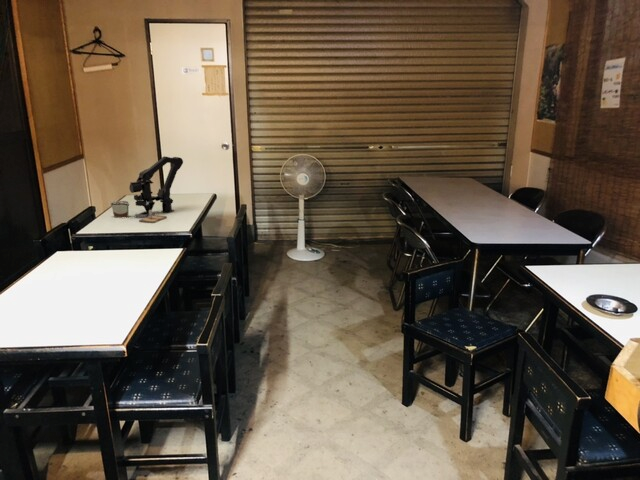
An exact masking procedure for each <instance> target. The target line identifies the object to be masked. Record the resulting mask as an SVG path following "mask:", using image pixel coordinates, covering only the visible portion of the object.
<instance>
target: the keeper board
mask: <svg viewBox="0 0 640 480" xmlns="http://www.w3.org/2000/svg"><path fill="white" fill-rule="evenodd" d="M152 212H153V210H152V211H151V210H149V217H146V218H140V219H139V220H138V222H139V223H147V224H149V223H150V224H155V223H157V222H158V223H159V222H160V221H163V220H165V219H167V216H166V215H156V214H155V215H152Z"/></svg>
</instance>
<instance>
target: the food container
mask: <svg viewBox="0 0 640 480" xmlns="http://www.w3.org/2000/svg"><path fill="white" fill-rule="evenodd" d="M110 206H111V209H112V214H113V217H114V218H122V217H124V218H125V217H126V218H127V217H128V218H129V216H130V215H129V206H130V203H129V201H126V200H118V201H117V200H115V201H113V202H110Z"/></svg>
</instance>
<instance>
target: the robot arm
mask: <svg viewBox="0 0 640 480" xmlns="http://www.w3.org/2000/svg"><path fill="white" fill-rule="evenodd" d="M167 164H169V165H170V168H169V171H168V174H167V177H166V179H165V182H164V184H163V187H162V188H159V189H158V191H157V193H156V195H152V194H153V191H152V187H151V186H152V185H151V184H154V181H152V180H151V179H152V178H153V177H154V175H155V174H156V173H157V172H158V171H159V170H161V168H163V167H164V166H165V165H167ZM183 164H184V160H183V158H181V157H178V156H173V157H169V156H165V155H164V156H162V157H161V159H159V160H158V161H156V162H155V163H154V164H153V165H151V166H150V167H149V168H146V169H144V170H142V171H141V172H139V174H138V175H139V176H138V177H137V179H136V181H131V182H129V183H130V184H129V191H130V193H131V194H133V193H140V194H135V195H133V199H134V200H135V206H136V207H137V206H138V207H143V208H144V209H145V211H146V212H147V214H149V210H151V211H152V212H153V208H154V206H155V204H156V202H158V201H160V203H162V204H161V207H162V210H161V211H160V213H171V212H174V209H172V204H173V203H174V199H173V198H171V188H172V186H173V183H174V180H175V178H176V174H177V173H178V171H179V170H180V169H181V167H182V166H183ZM155 201H156V202H155Z"/></svg>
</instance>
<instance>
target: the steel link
mask: <svg viewBox="0 0 640 480" xmlns="http://www.w3.org/2000/svg"><path fill="white" fill-rule="evenodd" d="M155 213H156V212H155V211H152V215H156V214H155ZM134 216H135V219H143V218H146V217H149V214H147V212H146V210H145V211H141V212H139V213H137V214H135V215H134Z"/></svg>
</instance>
